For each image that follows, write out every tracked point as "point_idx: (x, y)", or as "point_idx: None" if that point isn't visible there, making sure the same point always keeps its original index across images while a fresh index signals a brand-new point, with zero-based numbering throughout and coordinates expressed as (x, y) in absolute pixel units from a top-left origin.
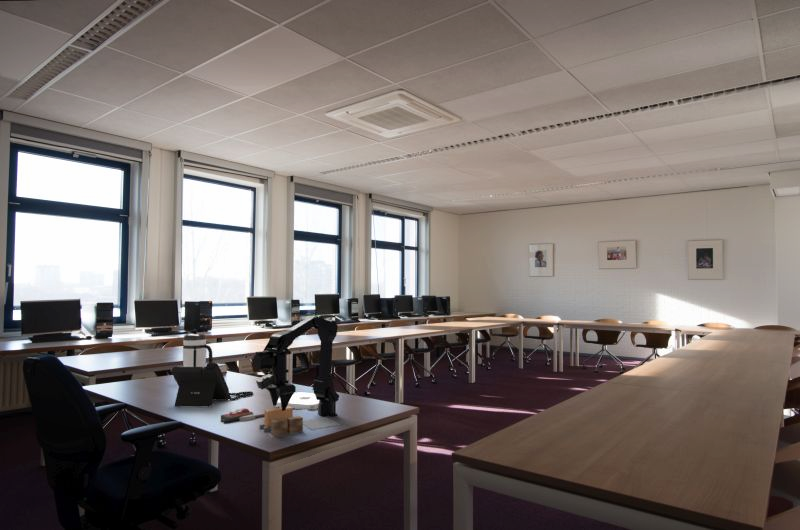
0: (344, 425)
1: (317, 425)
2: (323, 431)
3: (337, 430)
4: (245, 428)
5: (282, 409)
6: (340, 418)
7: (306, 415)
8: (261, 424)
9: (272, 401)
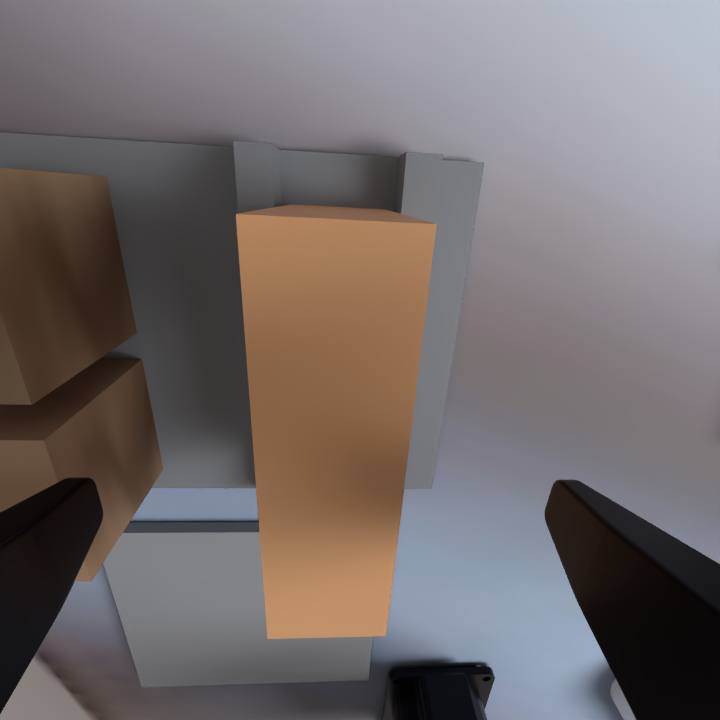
0: (148, 690)
1: (191, 592)
2: None
3: (47, 636)
4: (610, 26)
5: (45, 494)
6: (315, 715)
7: (532, 619)
8: (422, 177)
9: (640, 534)
